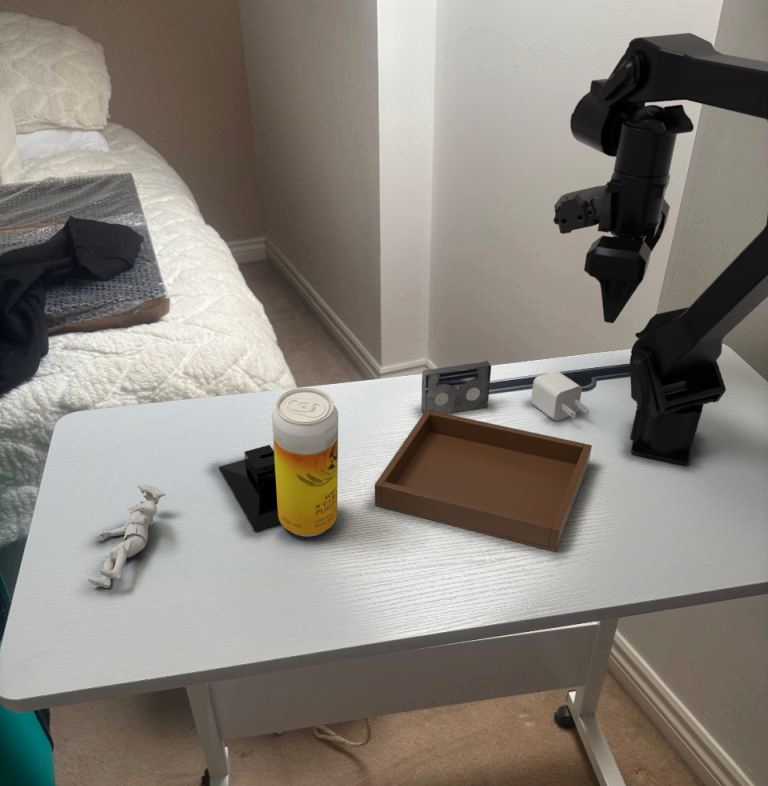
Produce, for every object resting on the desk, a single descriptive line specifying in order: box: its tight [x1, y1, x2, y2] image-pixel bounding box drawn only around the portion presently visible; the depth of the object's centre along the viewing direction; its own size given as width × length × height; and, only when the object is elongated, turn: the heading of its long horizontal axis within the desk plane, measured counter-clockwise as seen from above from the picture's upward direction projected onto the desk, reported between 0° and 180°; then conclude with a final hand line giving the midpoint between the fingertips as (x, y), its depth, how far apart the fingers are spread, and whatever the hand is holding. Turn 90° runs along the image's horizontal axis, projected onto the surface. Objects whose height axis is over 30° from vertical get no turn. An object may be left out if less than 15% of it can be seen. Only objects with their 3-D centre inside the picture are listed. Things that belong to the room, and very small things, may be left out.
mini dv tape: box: [420, 360, 492, 415], centre depth 101 cm, size 8×2×6 cm, turn 106°
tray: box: [374, 410, 593, 553], centre depth 90 cm, size 20×16×3 cm
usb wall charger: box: [530, 370, 590, 422], centre depth 101 cm, size 4×7×4 cm, turn 30°
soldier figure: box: [87, 484, 167, 589], centre depth 82 cm, size 8×5×12 cm
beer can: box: [271, 387, 339, 538], centre depth 81 cm, size 6×6×15 cm
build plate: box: [218, 444, 283, 534], centre depth 89 cm, size 12×7×5 cm, turn 26°
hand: (616, 305), depth 98 cm, fingers open, 9 cm apart
